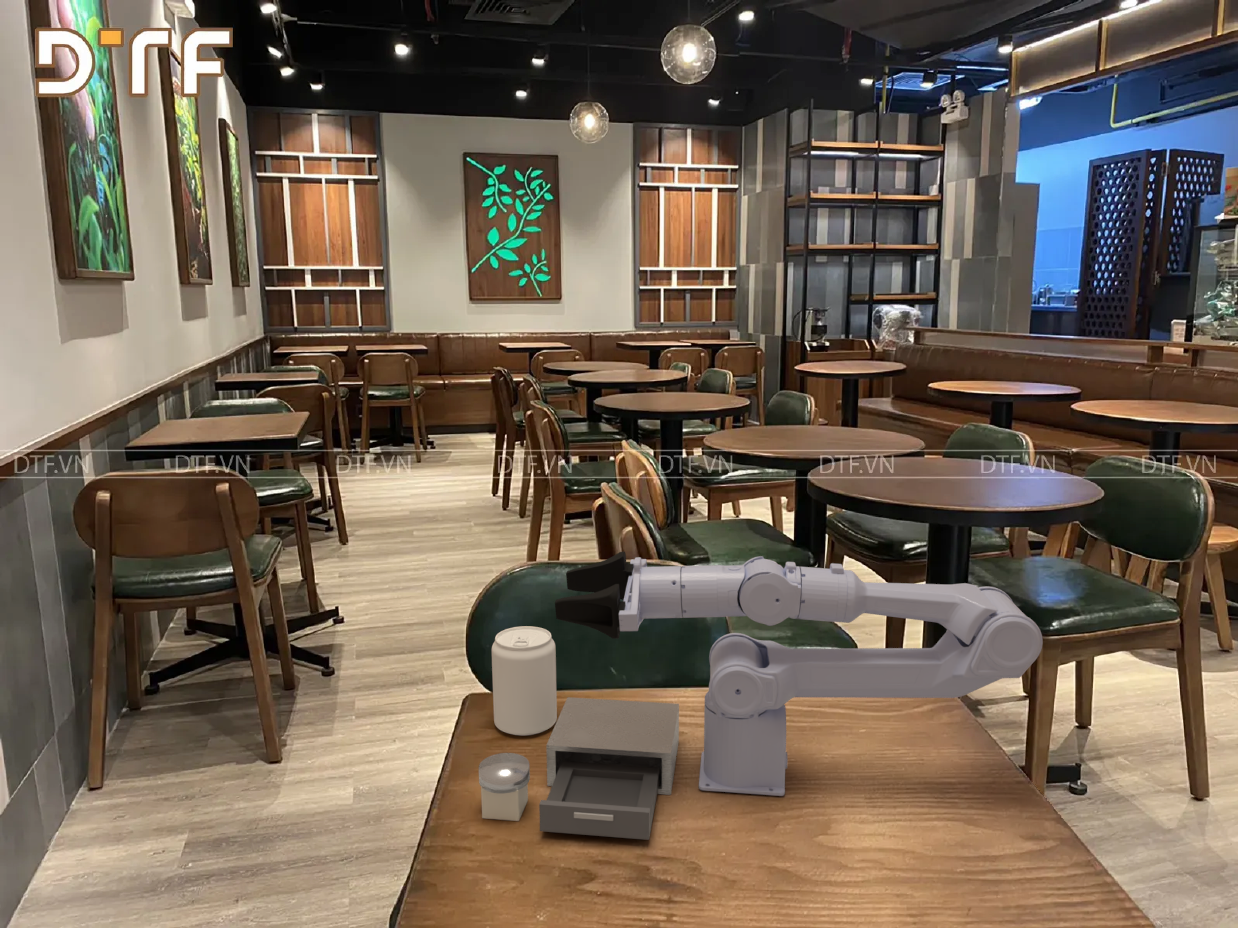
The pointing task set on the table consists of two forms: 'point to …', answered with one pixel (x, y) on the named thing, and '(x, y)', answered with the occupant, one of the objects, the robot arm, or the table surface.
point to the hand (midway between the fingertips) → (561, 594)
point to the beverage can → (524, 680)
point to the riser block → (504, 804)
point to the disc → (504, 773)
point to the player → (616, 736)
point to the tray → (601, 800)
